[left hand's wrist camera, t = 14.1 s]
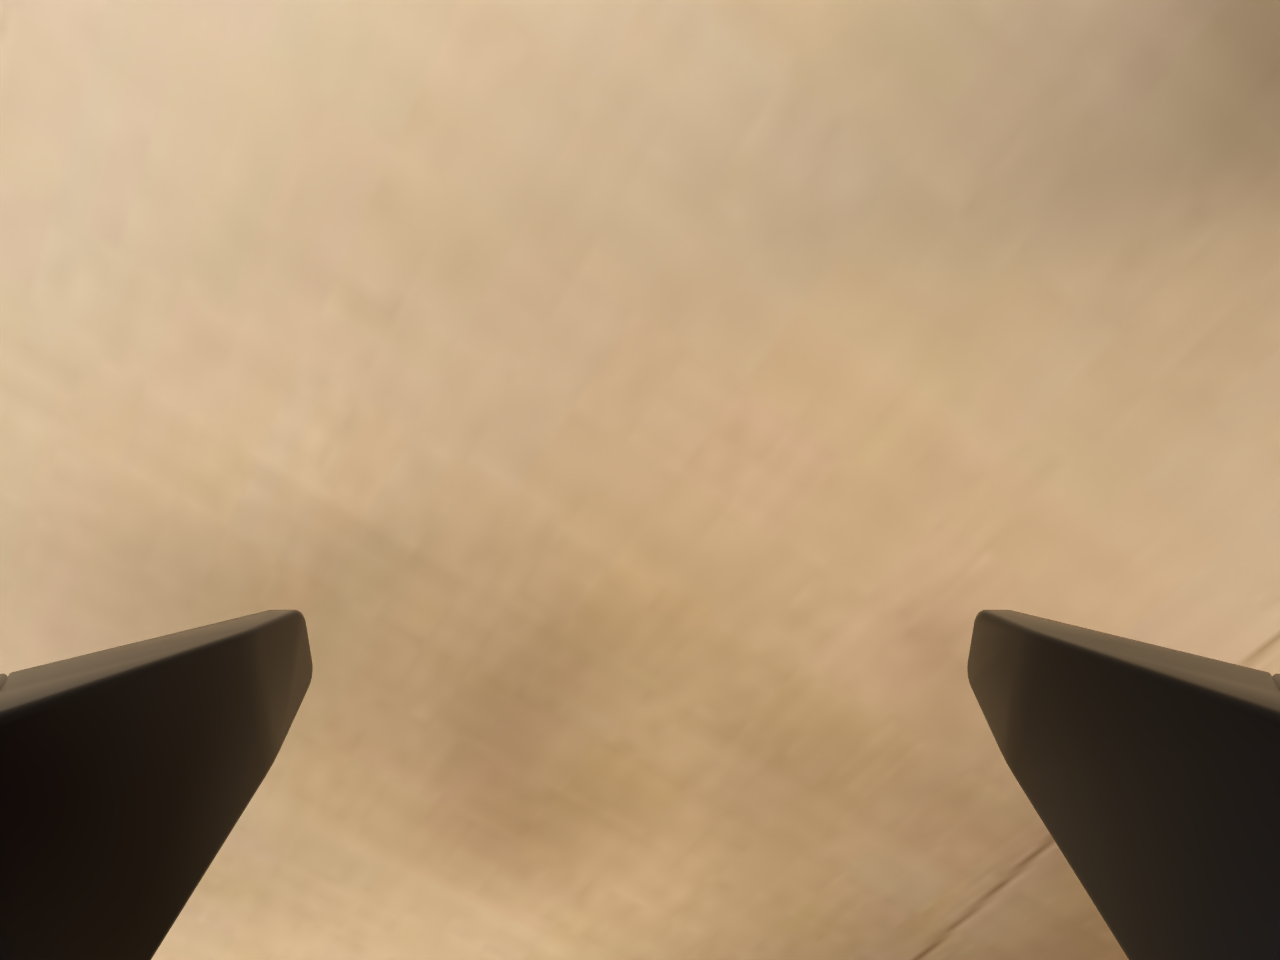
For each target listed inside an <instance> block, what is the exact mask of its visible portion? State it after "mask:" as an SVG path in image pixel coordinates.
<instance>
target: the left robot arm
mask: <svg viewBox="0 0 1280 960" xmlns="http://www.w3.org/2000/svg"><path fill="white" fill-rule="evenodd" d="M311 678H312V659H311V652H310V646H309V640H308V634H307V628H306V622H305V619H304V616H303V614H302V613H301V612H300V611H297V610H269V611H265V612H260V613H256V614H252V615H248V616H244V617H240V618H236V619H231V620H227V621H223V622H219V623H215V624H211V625H207V626H202V627H198V628H194V629H190V630H186V631H182V632H178V633H173V634H169V635H165V636H161V637H157V638H153V639H149V640H144V641H140V642H136V643H132V644H128V645H124V646H120V647H115V648H111V649H107V650H103V651H99V652H95V653H91V654H86V655H82V656H78V657H74V658H70V659H66V660H62V661H58V662H53V663H49V664H45V665H41V666H37V667H33V668H29V669H24V670H20V671H16V672H12V673H10V674H9V676H8V677H7V675H5V674H0V960H151V959H152V957H153V955H154V954H155V952H156V951H157V949H158V947H159V946H160V944H161V943H162V941H163V939H164V938H165V936H166V935H167V933H168V931H169V930H170V928H171V927H172V925H173V923H174V922H175V920H176V919H177V917H178V915H179V914H180V912H181V911H182V909H183V907H184V906H185V904H186V903H187V901H188V899H189V898H190V896H191V895H192V893H193V891H194V890H195V888H196V887H197V885H198V883H199V882H200V880H201V879H202V877H203V875H204V874H205V872H206V871H207V869H208V867H209V866H210V864H211V863H212V861H213V859H214V858H215V856H216V855H217V853H218V851H219V850H220V848H221V847H222V845H223V843H224V842H225V840H226V839H227V837H228V835H229V834H230V832H231V831H232V829H233V827H234V826H235V824H236V823H237V821H238V819H239V818H240V816H241V815H242V813H243V811H244V810H245V808H246V807H247V805H248V803H249V802H250V800H251V799H252V797H253V795H254V794H255V792H256V791H257V789H258V787H259V786H260V784H261V783H262V781H263V779H264V778H265V776H266V774H267V773H268V771H269V769H270V767H271V766H272V764H273V762H274V760H275V758H276V756H277V754H278V752H279V750H280V748H281V746H282V744H283V742H284V740H285V737H286V735H287V733H288V731H289V729H290V727H291V724H292V722H293V720H294V718H295V716H296V713H297V711H298V709H299V707H300V705H301V703H302V700H303V698H304V696H305V694H306V692H307V689H308V687H309V685H310V682H311ZM968 678H969V682H970V685H971V687H972V689H973V692H974V694H975V696H976V698H977V700H978V703H979V705H980V707H981V709H982V711H983V713H984V716H985V718H986V720H987V722H988V724H989V727H990V729H991V731H992V733H993V735H994V737H995V740H996V742H997V744H998V746H999V748H1000V750H1001V752H1002V754H1003V756H1004V758H1005V760H1006V762H1007V764H1008V766H1009V767H1010V769H1011V771H1012V773H1013V774H1014V776H1015V778H1016V779H1017V781H1018V783H1019V784H1020V786H1021V787H1022V789H1023V791H1024V792H1025V794H1026V795H1027V797H1028V799H1029V800H1030V802H1031V803H1032V805H1033V807H1034V808H1035V810H1036V811H1037V813H1038V815H1039V816H1040V818H1041V819H1042V821H1043V823H1044V824H1045V826H1046V827H1047V829H1048V831H1049V832H1050V834H1051V835H1052V837H1053V839H1054V840H1055V842H1056V843H1057V845H1058V847H1059V848H1060V850H1061V851H1062V853H1063V855H1064V856H1065V858H1066V859H1067V861H1068V863H1069V864H1070V866H1071V867H1072V869H1073V871H1074V872H1075V874H1076V875H1077V877H1078V879H1079V880H1080V882H1081V883H1082V885H1083V887H1084V888H1085V890H1086V891H1087V893H1088V895H1089V896H1090V898H1091V899H1092V901H1093V903H1094V904H1095V906H1096V907H1097V909H1098V911H1099V912H1100V914H1101V915H1102V917H1103V919H1104V920H1105V922H1106V923H1107V925H1108V927H1109V928H1110V930H1111V931H1112V933H1113V935H1114V936H1115V938H1116V939H1117V941H1118V943H1119V944H1120V946H1121V947H1122V949H1123V951H1124V952H1125V954H1126V955H1127V957H1128V959H1129V960H1280V674H1275V675H1273V677H1272V676H1271V674H1270V673H1268V672H1264V671H1260V670H1256V669H1252V668H1248V667H1243V666H1239V665H1235V664H1231V663H1227V662H1223V661H1219V660H1214V659H1210V658H1206V657H1202V656H1198V655H1194V654H1190V653H1185V652H1181V651H1177V650H1173V649H1169V648H1165V647H1161V646H1156V645H1152V644H1148V643H1144V642H1140V641H1136V640H1132V639H1127V638H1123V637H1119V636H1115V635H1111V634H1107V633H1102V632H1098V631H1094V630H1090V629H1086V628H1082V627H1078V626H1073V625H1069V624H1065V623H1061V622H1057V621H1053V620H1049V619H1044V618H1040V617H1036V616H1032V615H1028V614H1024V613H1020V612H1015V611H1011V610H983V611H980V612H979V613H978V614H977V616H976V619H975V622H974V628H973V634H972V640H971V646H970V652H969V659H968Z"/></svg>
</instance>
